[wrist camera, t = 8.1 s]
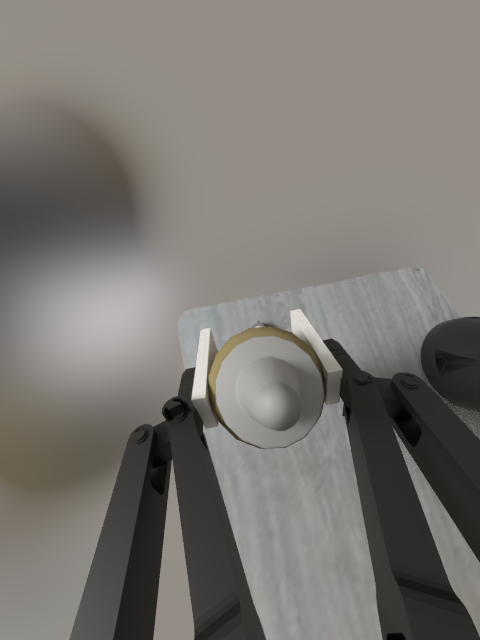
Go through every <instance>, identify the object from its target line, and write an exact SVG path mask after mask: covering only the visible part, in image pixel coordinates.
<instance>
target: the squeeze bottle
mask: <svg viewBox="0 0 480 640" xmlns="http://www.w3.org/2000/svg"><path fill="white" fill-rule="evenodd" d="M325 396H326V386H325V380H324V373H323V369H322V366H321V364H320V363H319V361H318V359H317V357H316V356H315V354H314V352H313V351H312V349H311V347H310V346H308V345H307V344H306V343H305V342H303V341H302V340H301V339H300V338H298V337H297V336H296V335H295V334H293V333H291V332H288V331H285V330H282V329H278V328H275V327H272V326H269V327H257V328H249V329H247V330H245V331H243V332H241V333H239V334H237V335H235V336H233V337H231V338H230V339H229V340H228V341H227V342H226V343H225V345H224V346H223V347H222V348H221V349H220V350H219V352H218V353H217V354H216V356H215V359H214V362H213V364H212V367H211V370H210V373H209V400H210V402H211V405H212V407H213V409H214V412H215V414H216V416H217V419H218V421H219V422H220V423H221V424H222V425H223V426H224V427H225V428H226V429H227V430H228V431H229V432H230V433H231V434H232V435H233V436H234V437H235V438H236V439H237V440H239V441H242V442H244V443H247V444H249V445H252V446H255V447H257V448H263V449H266V448H286V447H288V446H289V445H291V444H293V443H295V442H297V441H299V440H301V439H303V438H305V437H306V436H307V434H308V433H309V432H310V430H311V429H312V428H313V426H314V425H315V424H316V422H317V421H318V420H319V418H320V416H321V413H322V408H323V404H324V400H325Z"/></svg>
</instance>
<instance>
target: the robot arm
mask: <svg viewBox="0 0 480 640" xmlns="http://www.w3.org/2000/svg"><path fill="white" fill-rule="evenodd" d="M290 312H291V326H292V333H293V334H295V335H296V336H297V337H298V338H300V339H301V340H302V341H303V342H305V343H306V344H307V345H308V346H310V347H311V349H312V351H313V352H314V354H315V356H316V357H317V359H318V361H319V363H320V364H321V366H322V369H323V373H324V380H325V386H326V396H325V400H324V401H325V403H326V405H328V404H333V403H338V402H339V400H340V397H341V399H342V401H343V402H344V406H343V415H342V416H345V419H346V425H347V430H348V436H349V441H350V446H351V452H352V457H353V463H354V468H355V473H356V479H357V484H358V490H359V495H360V501H361V506H362V511H363V517H364V522H365V528H366V533H367V539H368V544H369V549H370V555H371V560H372V566H373V571H374V577H375V583H376V599H377V608H378V614H379V620H380V626H381V632H382V637H383V640H480V637H479V634H478V632H477V630H476V628H475V625H474V623H473V621H472V618H471V617H470V615H469V613H468V611H467V609H466V608H465V606H464V604H463V603H462V602H461V601H460V599H459V598H458V597H457V596H456V594H455V593H454V591H453V589H452V587H451V585H450V583H449V580H448V578H447V575H446V572H445V569H444V567H443V564H442V561H441V558H440V556H439V553H438V550H437V548H436V545H435V542H434V539H433V537H432V534H431V531H430V528H429V526H428V523H427V520H426V517H425V515H424V512H423V509H422V507H421V504H420V501H419V498H418V496H417V493H416V490H415V487H414V485H413V482H412V479H411V476H410V474H409V471H408V468H407V466H406V463H405V460H404V457H403V455H402V452H401V449H400V446H399V444H398V441H397V438H396V435H395V433H394V430H393V428H394V429H395V431H396V433H397V434H398V436H399V437H400V439H401V440H402V442H403V443H404V445H405V447H406V448H407V450H408V451H409V453H410V454H411V456H412V457H413V459H414V461H415V462H416V464H417V465H418V467H419V468H420V470H421V471H422V473H423V475H424V476H425V478H426V479H427V481H428V482H429V484H430V486H431V487H432V489H433V490H434V492H435V493H436V495H437V496H438V498H439V500H440V501H441V503H442V504H443V506H444V507H445V509H446V510H447V512H448V514H449V515H450V517H451V518H452V520H453V521H454V523H455V524H456V526H457V528H458V529H459V531H460V532H461V534H462V535H463V537H464V538H465V540H466V542H467V543H468V545H469V546H470V548H471V549H472V551H473V553H474V554H475V556H476V557H477V559H478V560H479V562H480V440H479V439H478V438H477V437H476V436H475V434H474V433H473V432H472V431H471V430H470V429H469V428H468V427H467V426H466V425H465V424H464V423H463V422H462V421H461V420H460V419H459V418H458V417H457V416H456V415H455V414H454V413H453V411H452V410H451V409H450V408H449V407H448V406H447V405H446V404H445V403H444V402H443V401H442V400H441V399H440V398H439V397H438V396H437V395H436V394H435V393H434V392H433V391H432V389H431V388H430V387H429V386H428V385H427V384H426V383H425V382H424V381H423V380H421V379H420V378H419V377H417V376H415V375H413V374H409V373H397V374H395V375H394V376H393V379H385V378H375V377H373V376H371V375H370V374H369V373H367V372H364V371H361V370H360V368H359V367H358V366H357V365H356V363H355V362H354V361H353V360H352V358H351V357H350V356H349V355H348V354H347V352H346V351H345V350H344V349H343V347H342V346H341V345H340V344H339V343H338V342H337V341H335V340H333V339H328V340H323V341H322V340H321V338H320V337H319V335H318V334H317V333H316V331H315V330H314V328H313V327H312V325H311V324H310V323H309V321H308V320H307V318H306V317H305V315H304V314H303V313H302V311H301V310H300V309H297V310H293V311H290ZM217 353H218V350H217V347H216V344H215V341H214V338H213V335H212V332H211V329H210V328H208V329H203V330H201V333H200V340H199V348H198V355H197V362H196V367H195V368H190V369H186V370H185V372H184V373H183V375H182V378H181V383H180V388H179V392H178V396H177V397H173V398H171V399H170V400H168V401H167V402H166V403H165V404H164V406H163V408H162V414H163V416H164V417H165V419H166V420H165V421H164V422H162V423H160V424H158V425H156V426H154V427H152V426H151V425H149V424H144V425H141V426H139V427H138V428H137V429H135V430H134V431H133V432H132V434H131V435H130V437H129V439H128V442H127V446H126V449H125V452H124V456H123V459H122V463H121V466H120V470H119V473H118V476H117V480H116V483H115V486H114V490H113V493H112V497H111V500H110V503H109V507H108V510H107V514H106V517H105V520H104V524H103V527H102V531H101V534H100V537H99V541H98V544H97V548H96V551H95V555H94V558H93V561H92V565H91V568H90V572H89V575H88V578H87V582H86V585H85V589H84V592H83V595H82V599H81V602H80V606H79V609H78V612H77V616H76V619H75V623H74V626H73V630H72V633H71V636H70V640H153V635H154V626H155V615H156V606H157V596H158V586H159V577H160V568H161V558H162V548H163V539H164V529H165V519H166V510H167V499H168V490H169V480H170V471H171V461H172V459H173V466H174V473H175V481H176V489H177V497H178V503H179V512H180V519H181V527H182V535H183V542H184V550H185V558H186V565H187V573H188V581H189V588H190V596H191V604H192V611H193V619H194V628H195V638H194V640H266V638H265V635H264V631H263V628H262V625H261V622H260V619H259V617H258V614H257V612H256V609H255V606H254V604H253V600H252V597H251V593H250V590H249V587H248V583H247V580H246V576H245V573H244V569H243V566H242V562H241V559H240V555H239V552H238V549H237V545H236V542H235V538H234V535H233V531H232V528H231V524H230V521H229V518H228V514H227V511H226V507H225V504H224V500H223V497H222V493H221V490H220V486H219V483H218V480H217V476H216V473H215V469H214V466H213V462H212V459H211V455H210V452H209V448H208V445H207V442H206V438H205V435H204V433H203V424H204V426H205V428H212V427H217V426H218V419H217V416H216V414H215V412H214V409H213V407H212V405H211V402H210V400H209V373H210V370H211V367H212V364H213V362H214V359H215V356H216V354H217ZM421 361H422V366H423V369H424V372H425V374H426V376H427V378H428V380H429V382H430V383H431V385H432V386H433V387H434V388H435V389H436V391H437V392H438V393H440V394H441V395H442V396H443V397H444V398H446V399H447V400H448V401H450V402H452V403H454V404H455V405H458V406H460V407H463V408H466V409H470V410H474V411H479V412H480V317H463V318H458V319H453V320H449V321H446V322H443V323H441V324H439V325H437V326H436V327H434V328H433V329H432V330H431V331H430V332H429V333H428V335H427V336H426V338H425V340H424V342H423V345H422V350H421ZM392 426H393V427H392Z"/></svg>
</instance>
